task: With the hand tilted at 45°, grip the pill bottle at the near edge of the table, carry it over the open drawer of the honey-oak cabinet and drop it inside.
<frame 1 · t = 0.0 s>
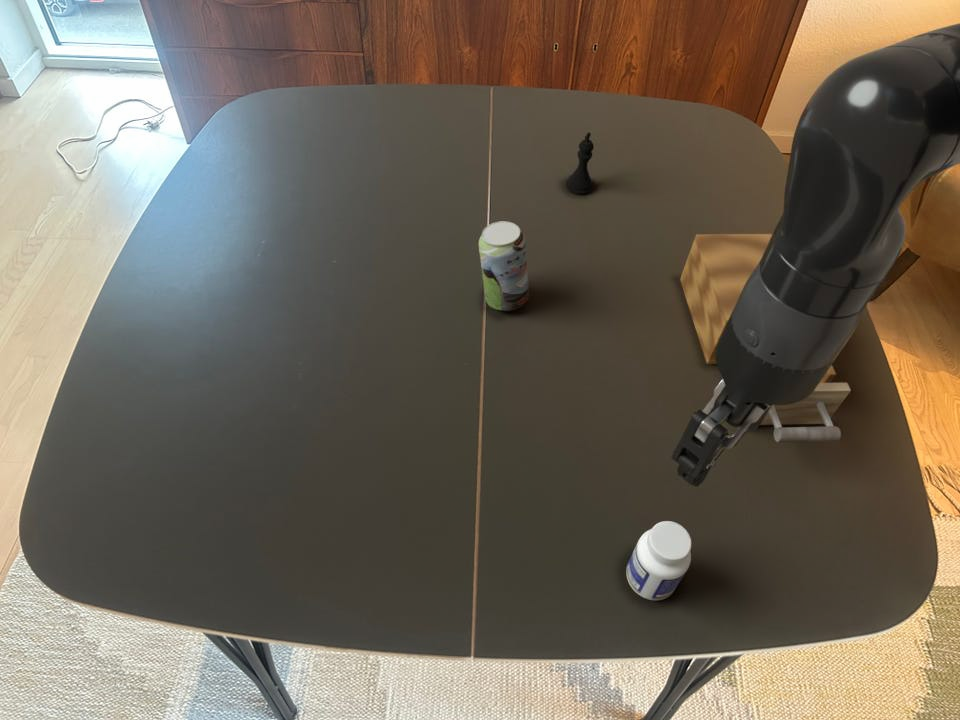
hand: (718, 448, 62), 19 cm above the table, tool pointing down, fingers open, 8 cm apart
chess piece: (578, 187, 115), on the table
pill bottle: (650, 577, 74), on the table
drawer: (778, 376, 86), point 4 cm above the table, slide at 9.0 cm
beverage can: (501, 300, 99), on the table
cabinet: (737, 319, 98), on the table
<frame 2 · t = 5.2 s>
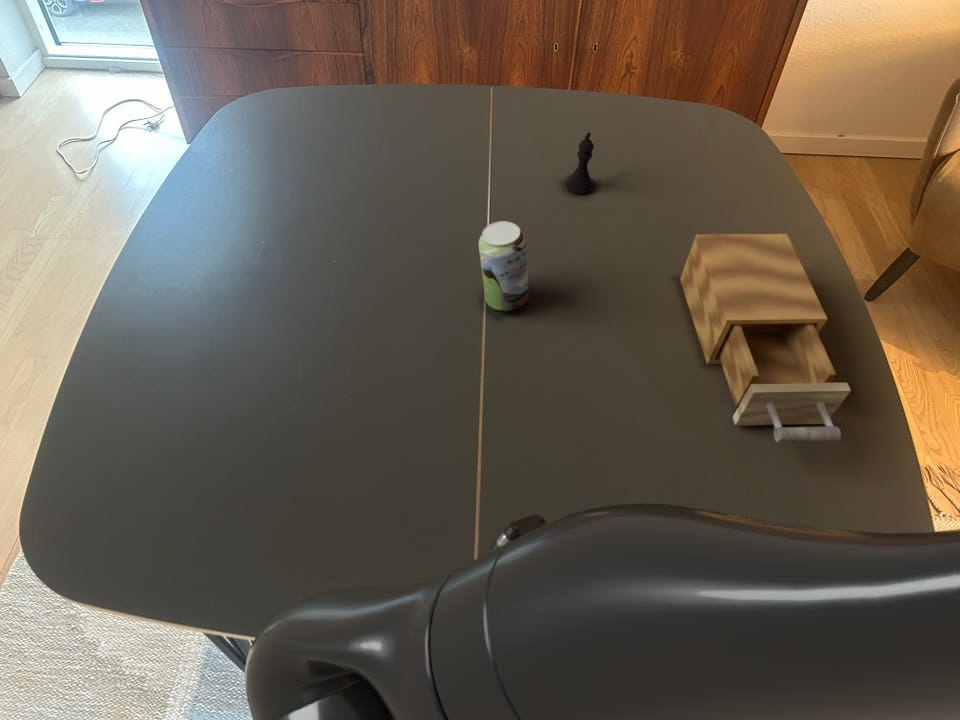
hand: (613, 582, 57), 16 cm above the table, tool tilted 45°, fingers open, 8 cm apart
nothing on the table moved.
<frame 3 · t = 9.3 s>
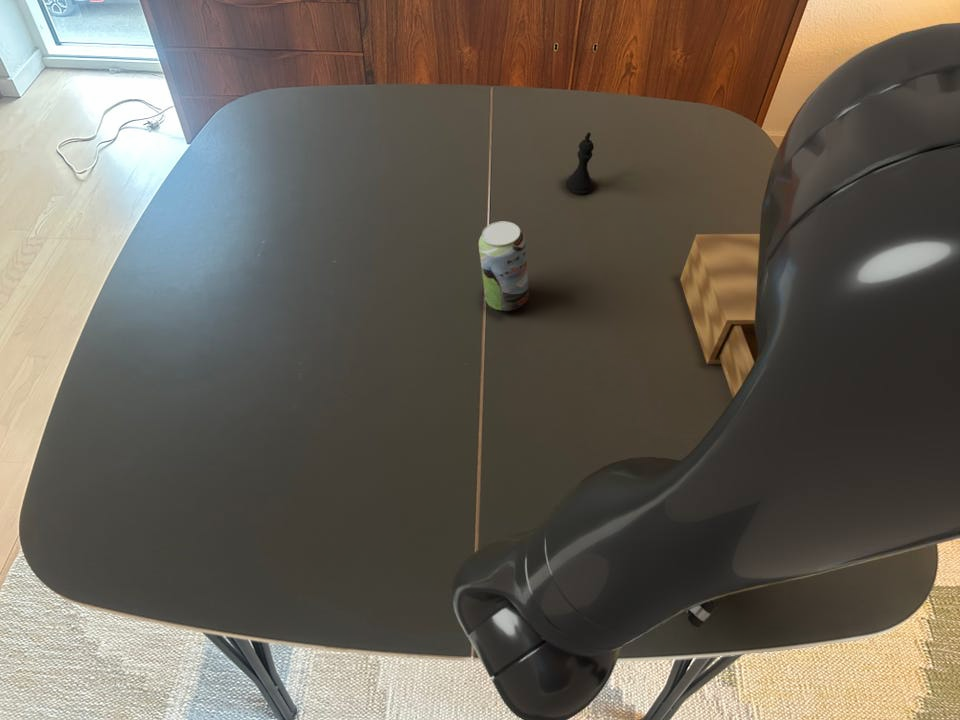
hand: (673, 544, 71), 5 cm above the table, tool tilted 45°, fingers closed on pill bottle, 5 cm apart
pill bottle: (650, 577, 74), on the table, touching gripper
everything else where it was.
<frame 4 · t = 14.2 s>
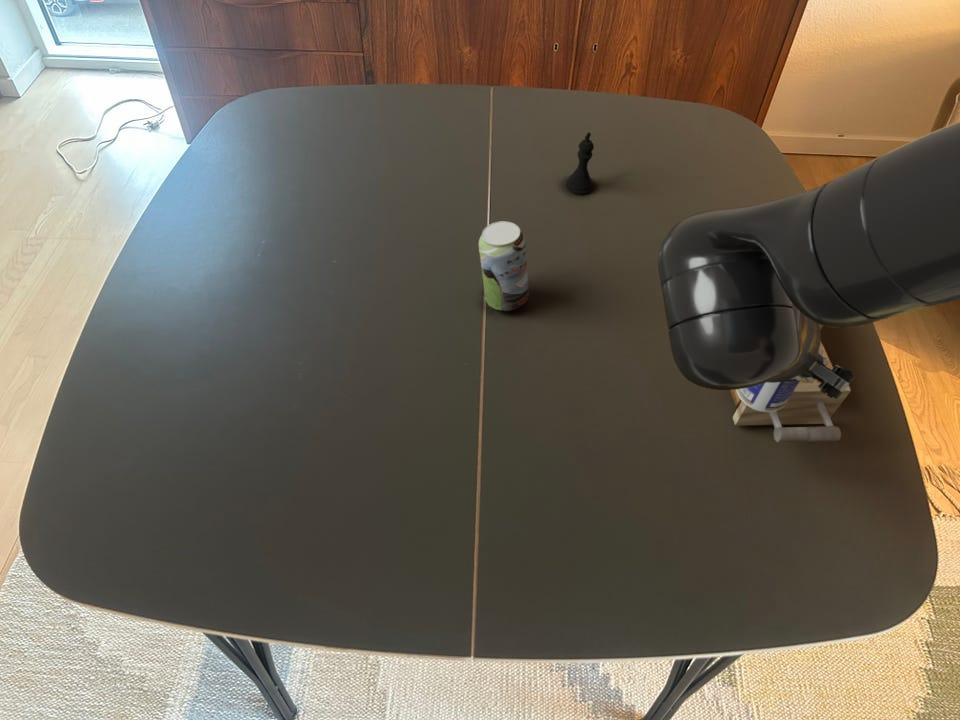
hand: (787, 352, 71), 18 cm above the table, tool tilted 45°, fingers closed on pill bottle, 5 cm apart
pill bottle: (759, 394, 74), point 13 cm above the table, touching gripper
everything else where it was.
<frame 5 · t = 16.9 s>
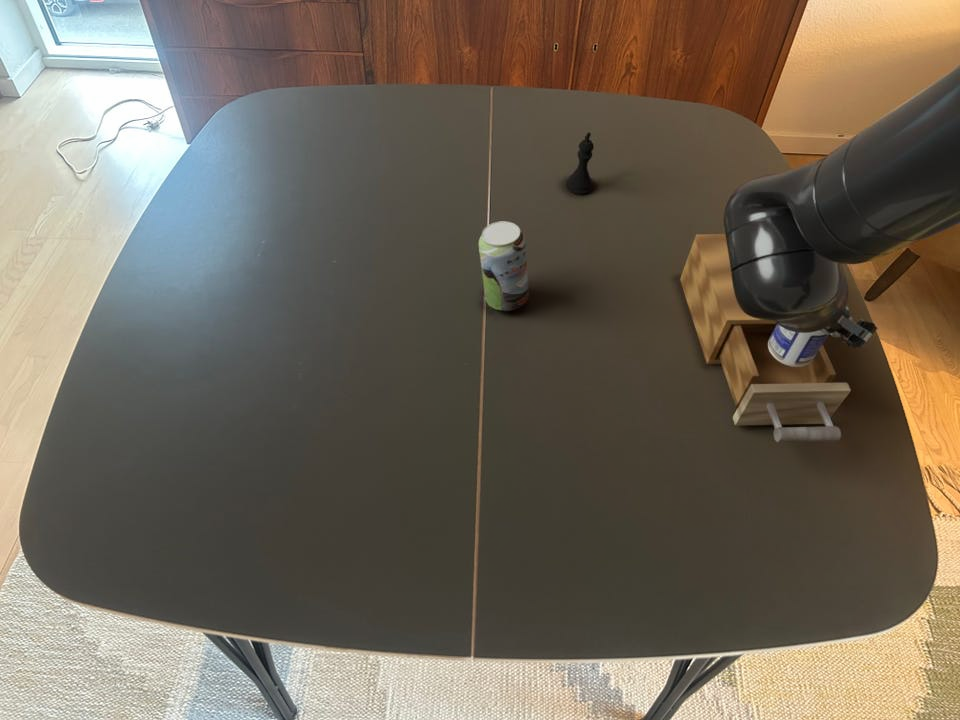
hand: (815, 313, 80), 14 cm above the table, tool tilted 45°, fingers closed on pill bottle, 5 cm apart
pill bottle: (788, 351, 84), point 8 cm above the table, touching gripper
everything else where it was.
when the fingers open (7 cm above the table, at t = 19.2 s): pill bottle stays where it is, resting on drawer.
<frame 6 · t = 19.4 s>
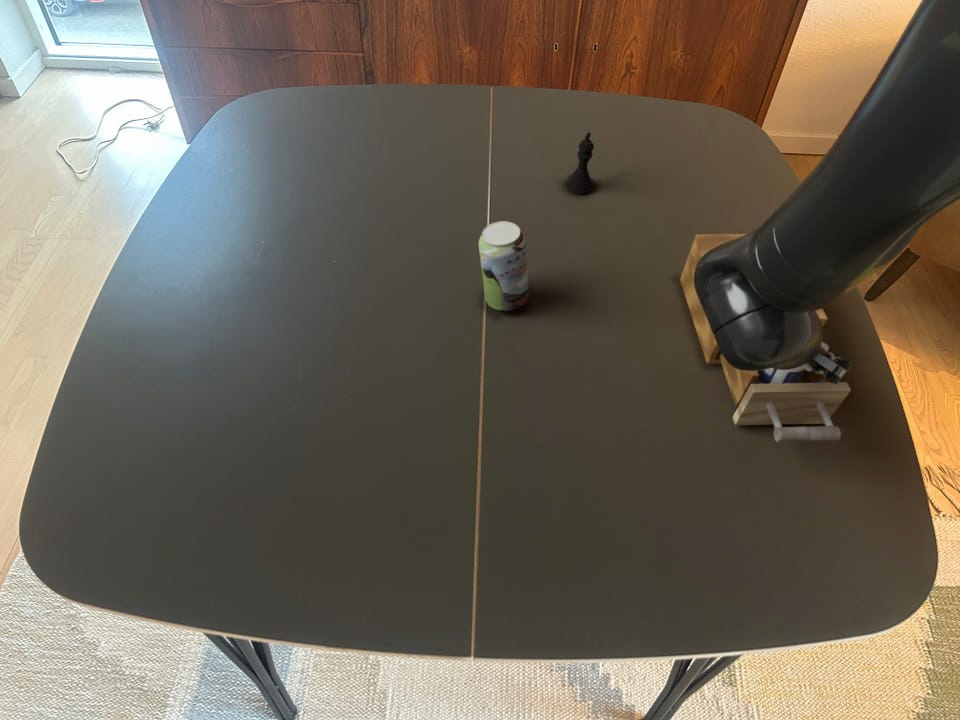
hand: (795, 345, 84), 8 cm above the table, tool tilted 45°, fingers open, 7 cm apart
pill bottle: (769, 384, 89), point 2 cm above the table, touching drawer
drawer: (778, 376, 86), point 4 cm above the table, slide at 9.0 cm, touching pill bottle
everything else where it was.
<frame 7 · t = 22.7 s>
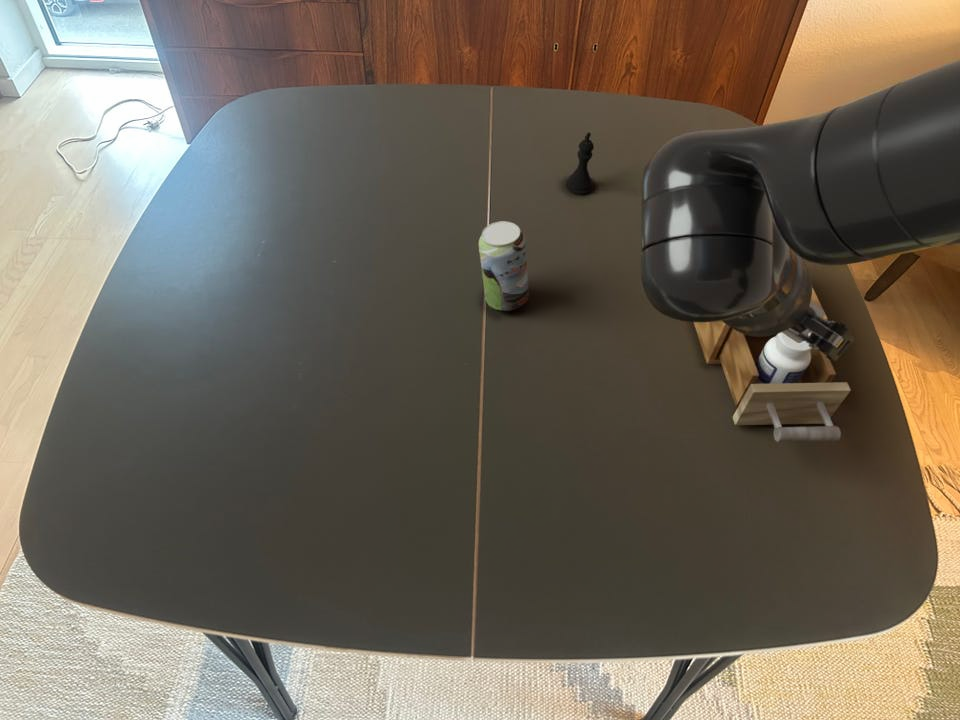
hand: (780, 312, 68), 22 cm above the table, tool tilted 45°, fingers open, 8 cm apart
nothing on the table moved.
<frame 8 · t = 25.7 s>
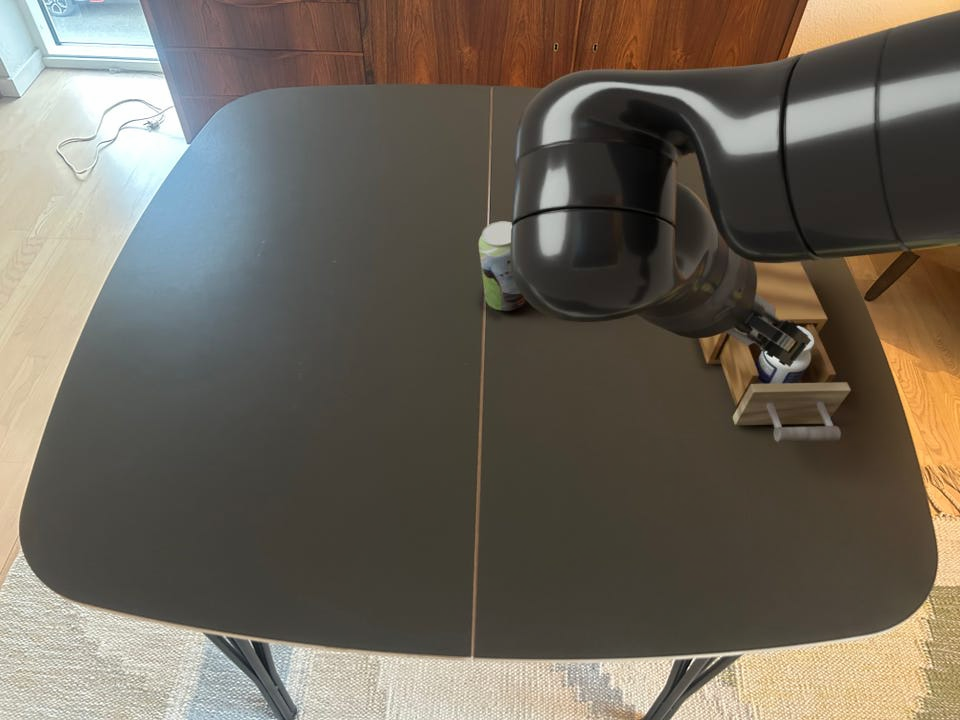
hand: (731, 309, 59), 29 cm above the table, tool tilted 45°, fingers open, 8 cm apart
nothing on the table moved.
at the end: pill bottle inside the target area in the drawer (0.2 cm from its centre), point 1.8 cm above the cabinet's base; the gripper is holding nothing; drawer slide at 9.0 cm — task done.
